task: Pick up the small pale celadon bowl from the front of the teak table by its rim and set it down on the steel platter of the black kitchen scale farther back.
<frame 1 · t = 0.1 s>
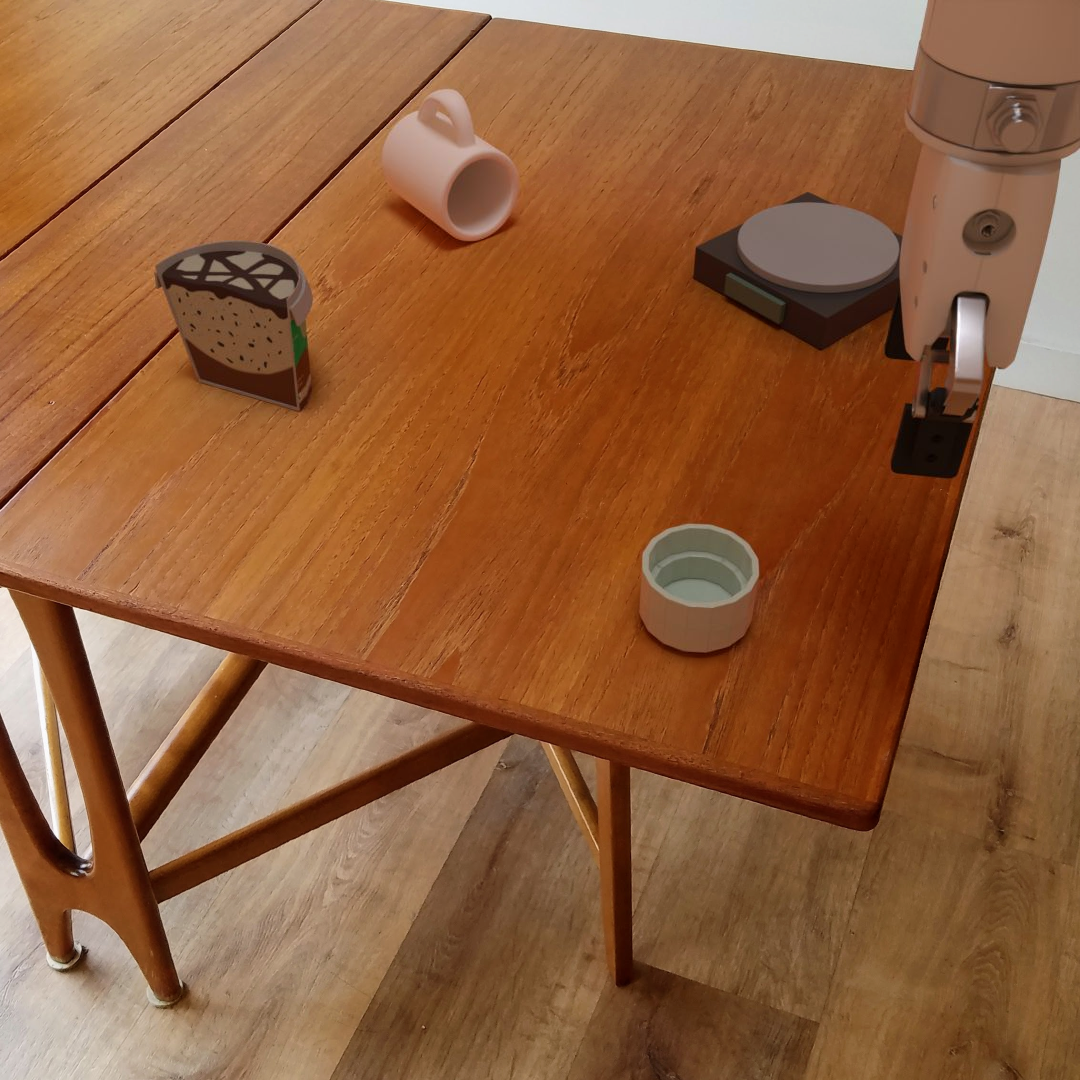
hand: (917, 411, 61), 15 cm above the table, tool pointing down, fingers open, 9 cm apart
mug: (452, 218, 106), on the table
food container: (271, 376, 89), on the table
bowl: (694, 614, 71), on the table
scale: (811, 281, 97), on the table
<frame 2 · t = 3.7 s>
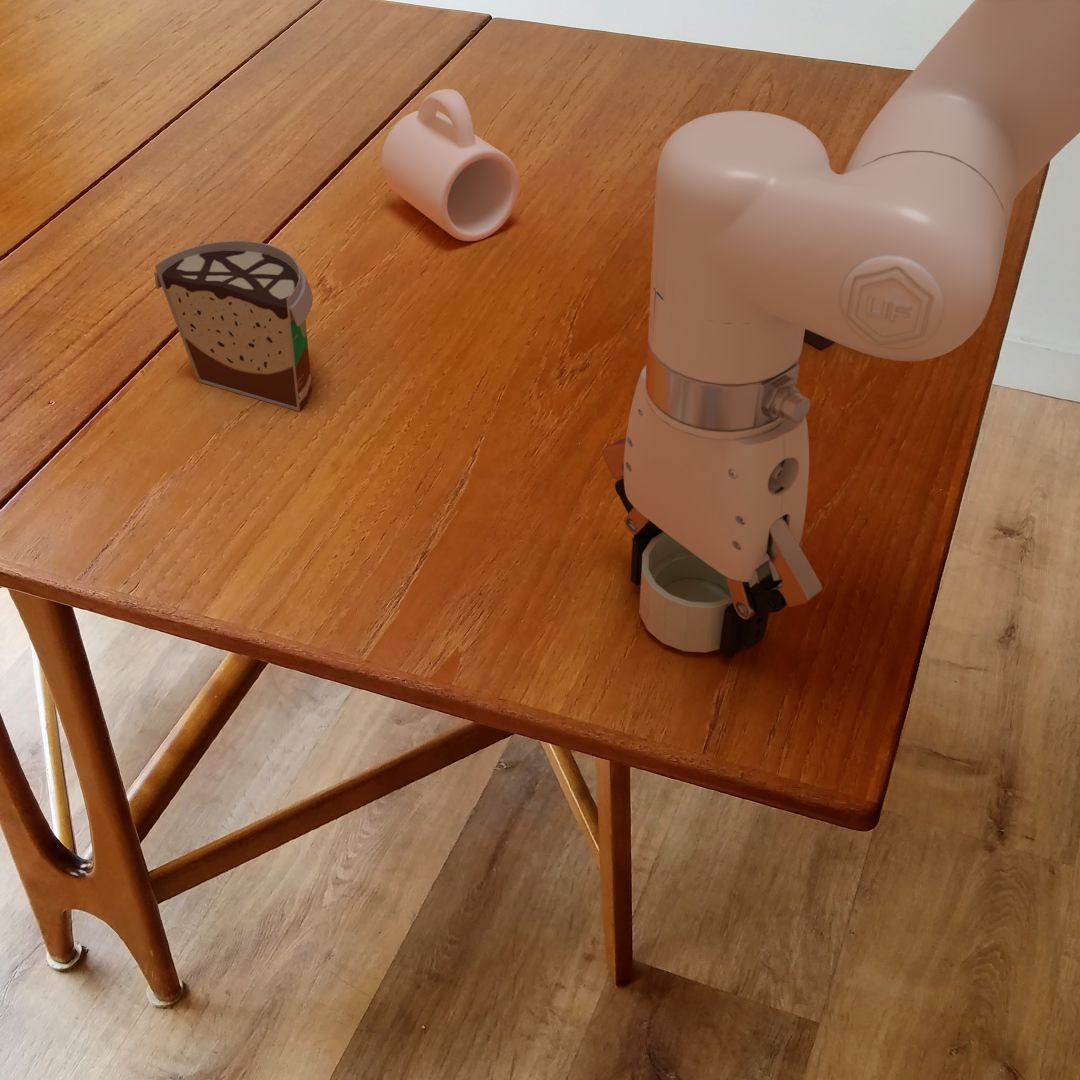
hand: (695, 606, 70), 1 cm above the table, tool pointing down, fingers closed on bowl, 6 cm apart
bowl: (694, 614, 71), on the table, touching gripper
everything else where it was.
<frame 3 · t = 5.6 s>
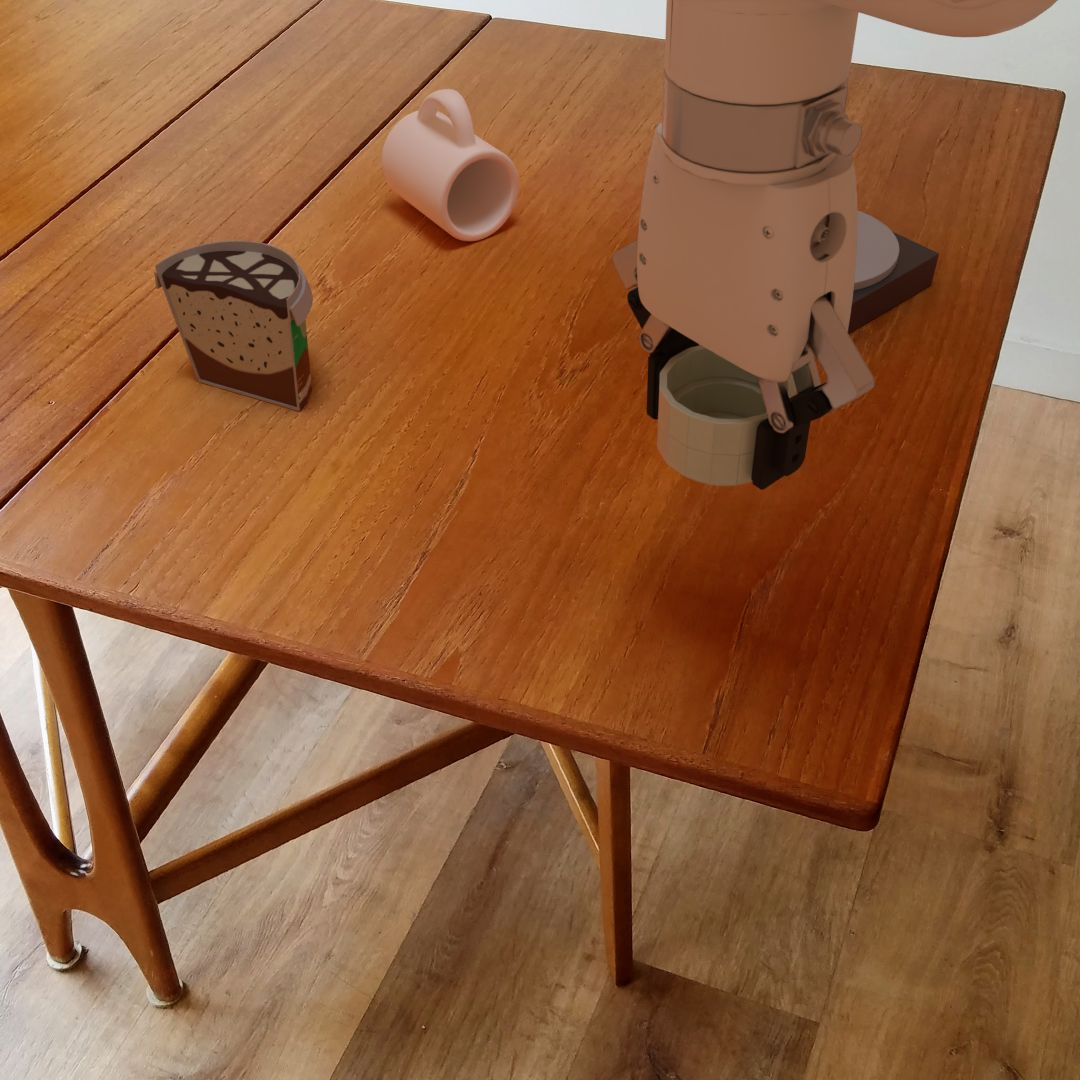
hand: (722, 438, 61), 14 cm above the table, tool pointing down, fingers closed on bowl, 6 cm apart
bowl: (721, 449, 61), point 13 cm above the table, touching gripper
everything else where it was.
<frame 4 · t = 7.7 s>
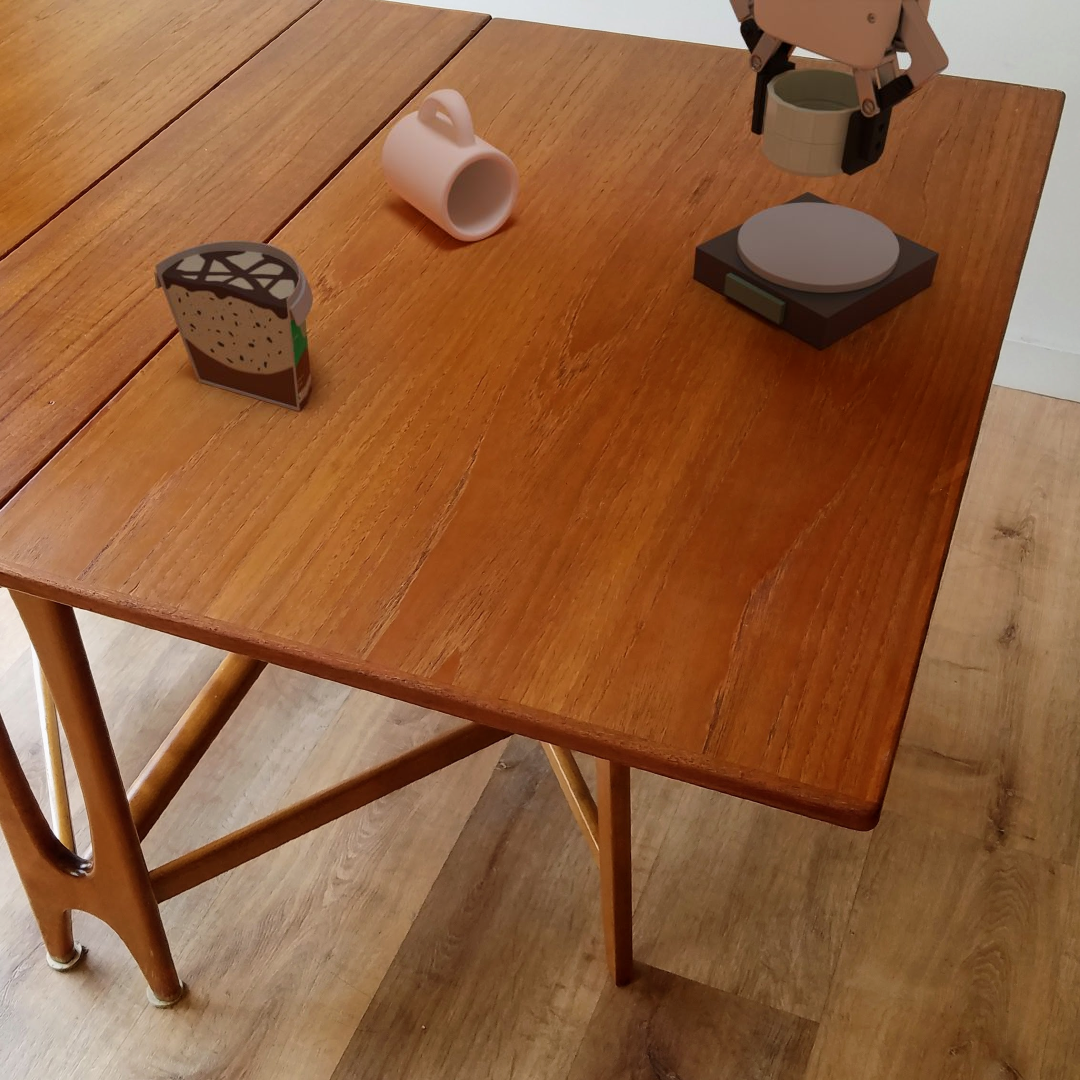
hand: (813, 145, 76), 18 cm above the table, tool pointing down, fingers closed on bowl, 6 cm apart
bowl: (811, 156, 76), point 17 cm above the table, touching gripper
everything else where it was.
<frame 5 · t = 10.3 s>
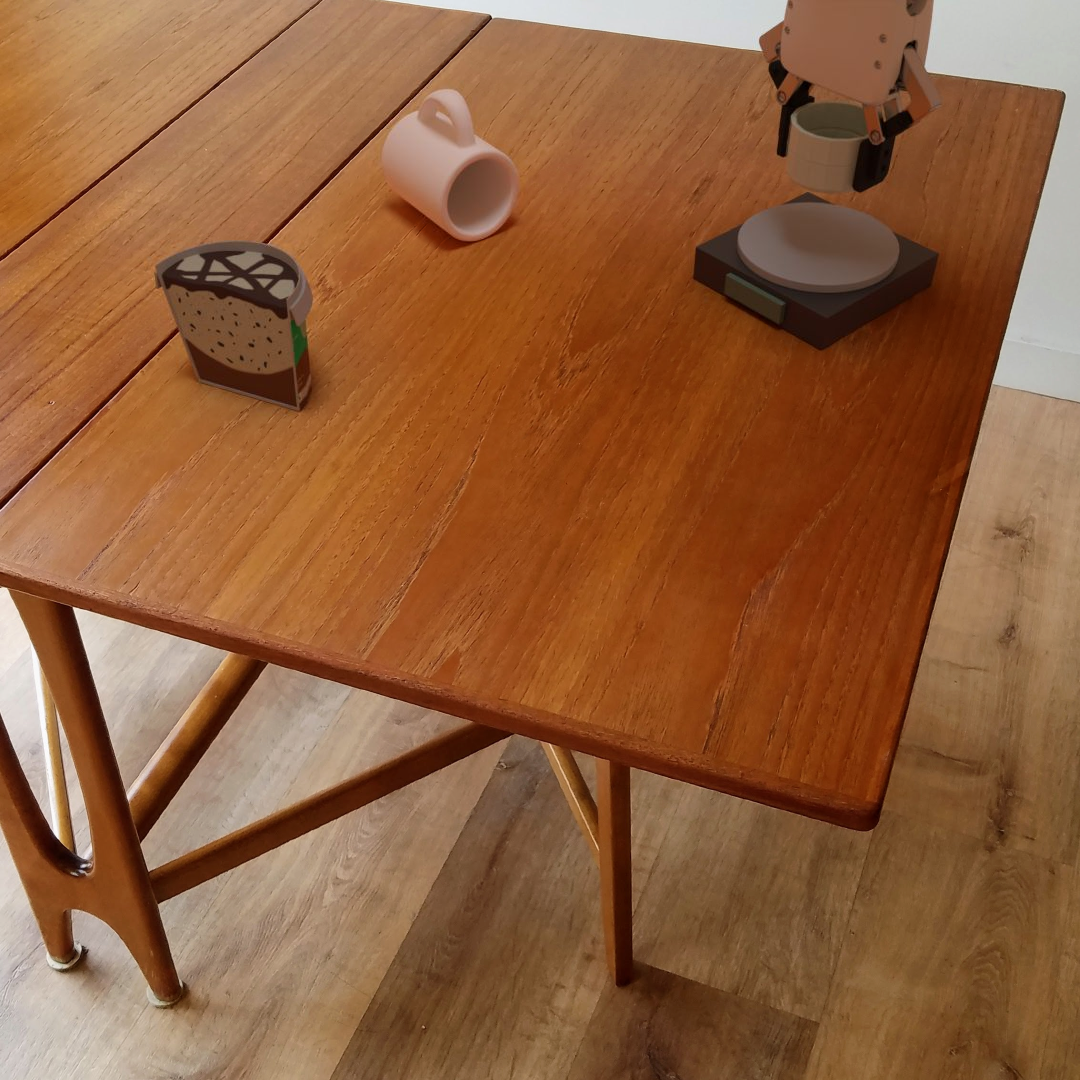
hand: (829, 166, 90), 10 cm above the table, tool pointing down, fingers closed on bowl, 6 cm apart
bowl: (827, 175, 90), point 10 cm above the table, touching gripper
everything else where it was.
when the fingers open (5 cm above the table, at t = 12.2 s): bowl stays where it is, resting on scale.
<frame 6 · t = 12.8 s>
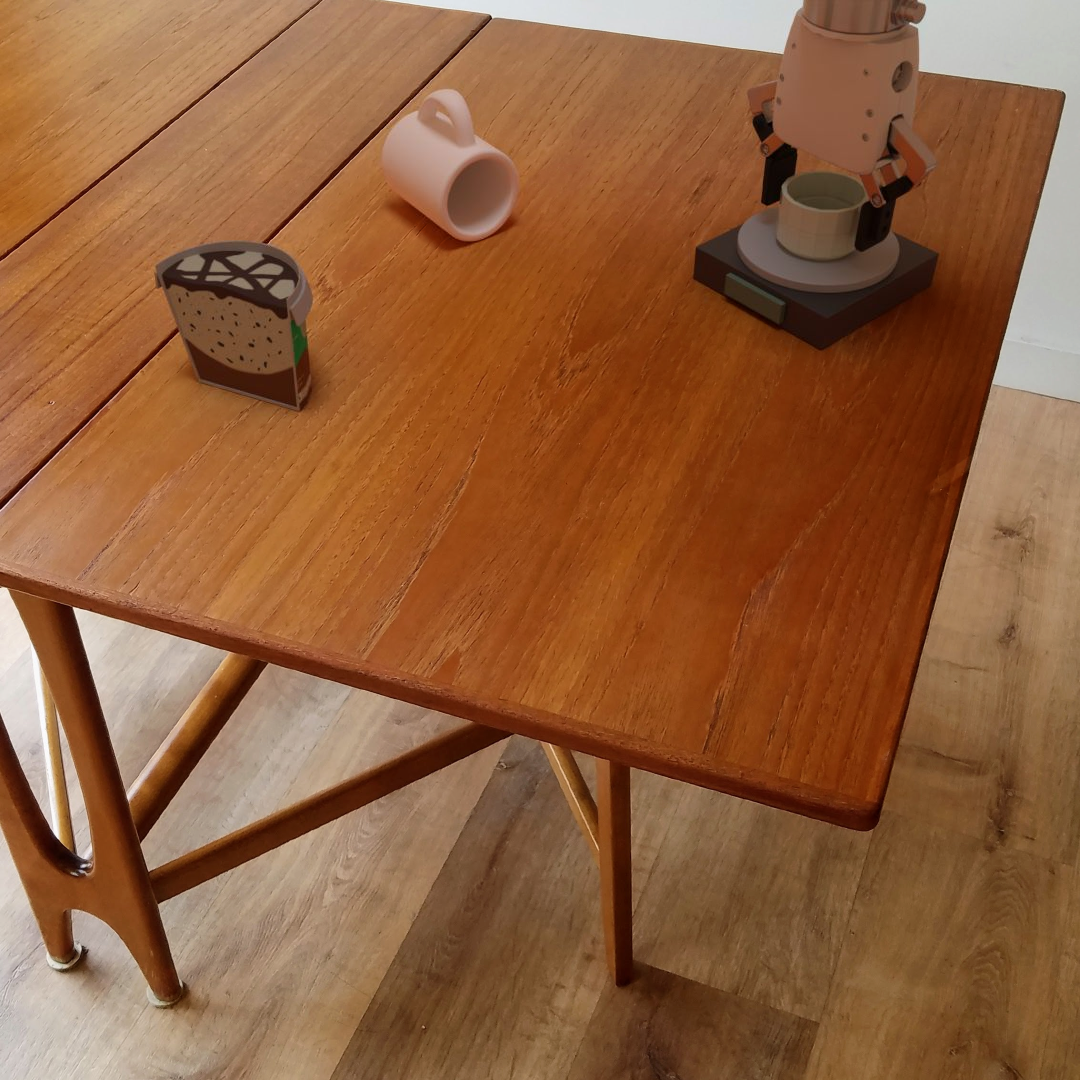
hand: (821, 221, 93), 6 cm above the table, tool pointing down, fingers open, 9 cm apart
bowl: (817, 241, 94), point 4 cm above the table, touching scale
everything else where it was.
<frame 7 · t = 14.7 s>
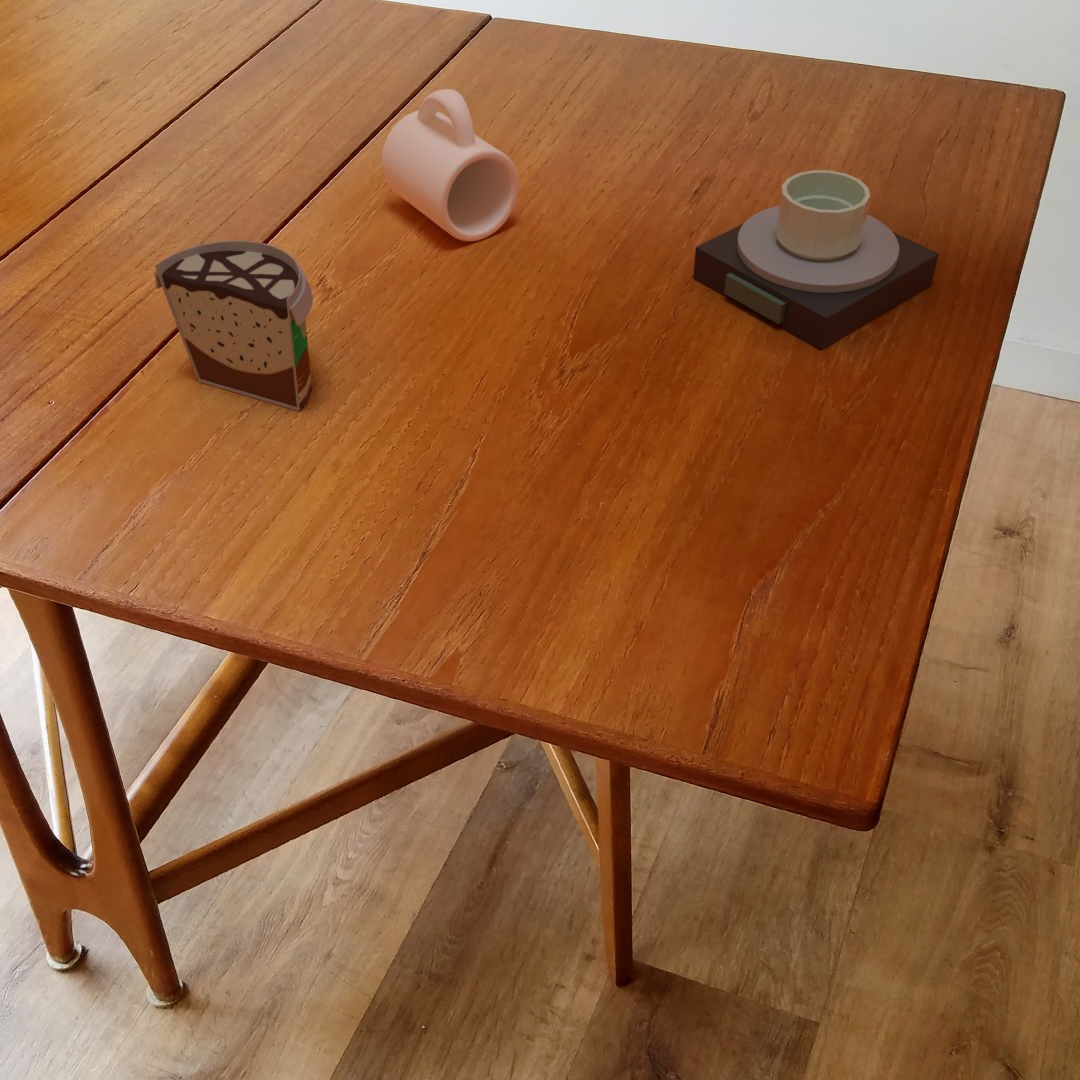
nothing on the table moved.
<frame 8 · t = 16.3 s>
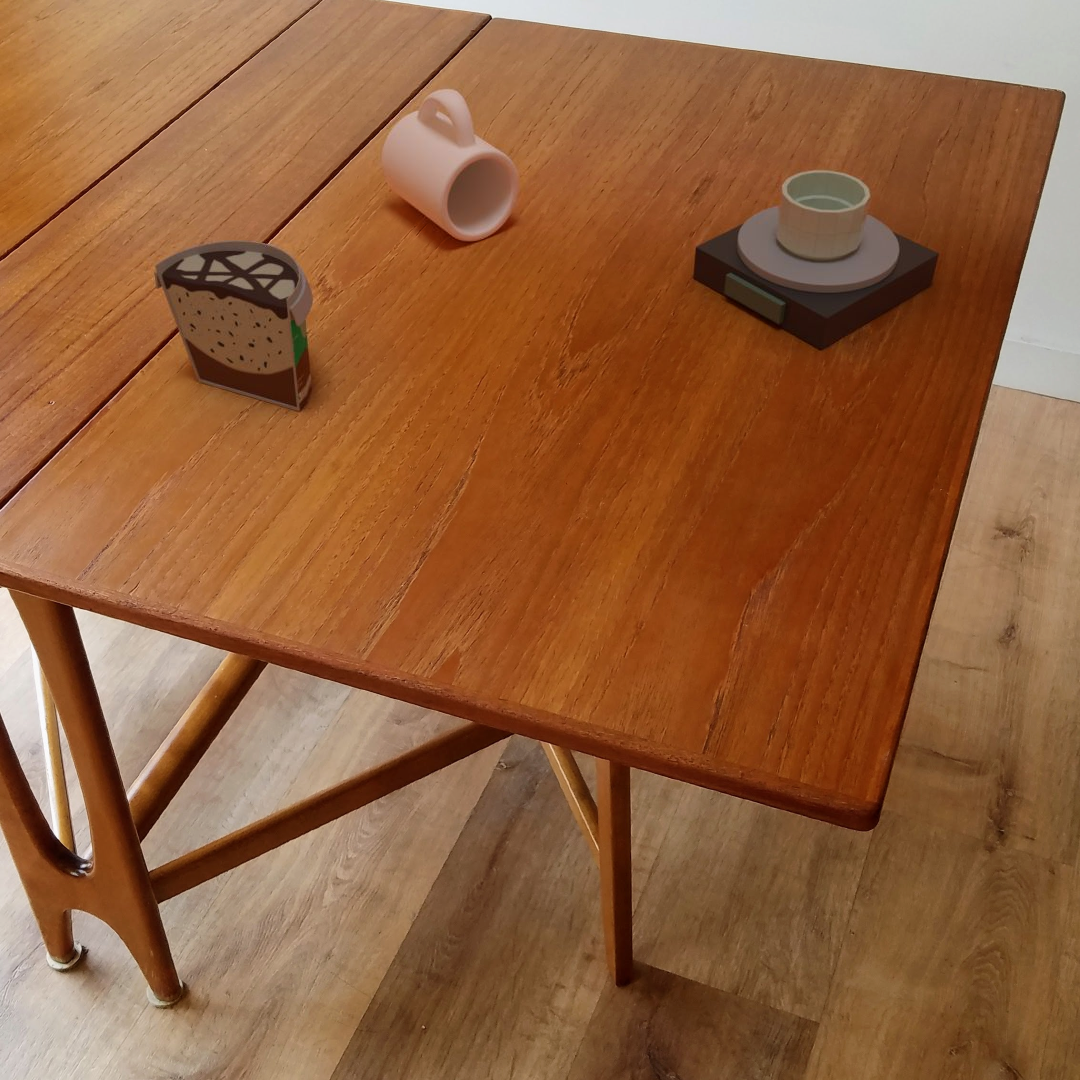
nothing on the table moved.
at the end: bowl inside the target area on the scale (0.0 cm from its centre), point 3.8 cm above the scale's base; bowl tilted 0°; the gripper is holding nothing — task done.
